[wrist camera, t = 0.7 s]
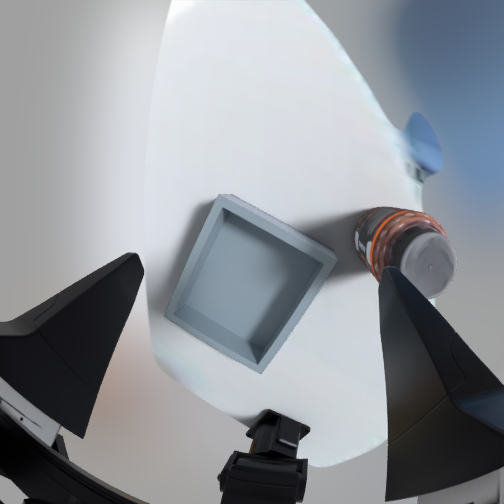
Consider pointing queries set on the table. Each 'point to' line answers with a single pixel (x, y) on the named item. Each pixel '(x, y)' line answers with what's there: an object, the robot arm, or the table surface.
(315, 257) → the tote
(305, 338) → the table surface
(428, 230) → the supplement bottle
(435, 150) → the table surface
